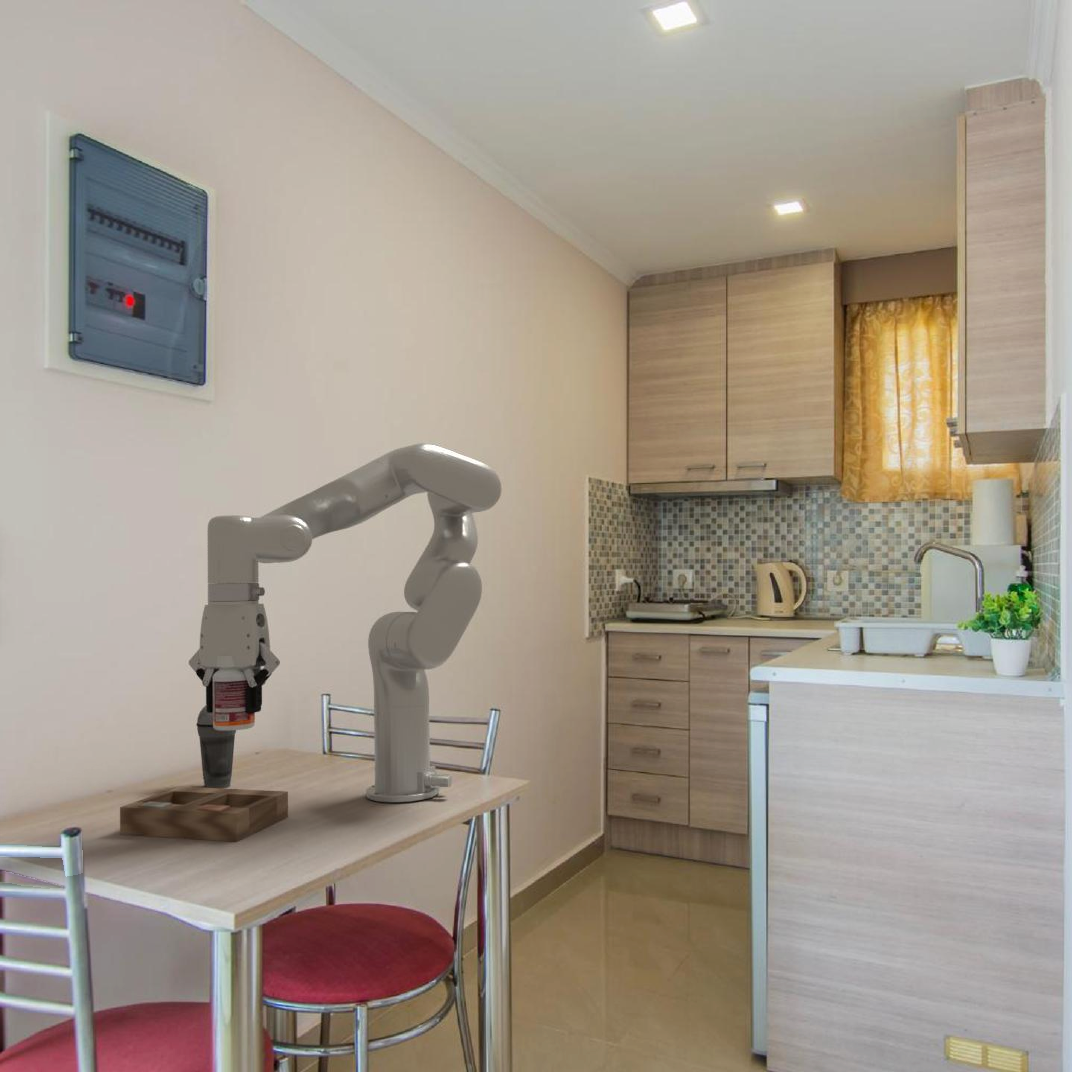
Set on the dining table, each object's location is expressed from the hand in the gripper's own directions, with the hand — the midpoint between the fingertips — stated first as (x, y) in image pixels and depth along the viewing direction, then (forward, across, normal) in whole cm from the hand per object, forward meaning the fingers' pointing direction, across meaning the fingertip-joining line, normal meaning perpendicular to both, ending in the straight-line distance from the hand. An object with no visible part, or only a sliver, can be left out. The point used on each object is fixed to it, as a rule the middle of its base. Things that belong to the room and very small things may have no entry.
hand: (233, 710), depth 142 cm
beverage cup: (+18, +20, -24) cm, 36 cm away
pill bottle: (+3, 0, 0) cm, 3 cm away
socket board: (+18, +5, 0) cm, 18 cm away
